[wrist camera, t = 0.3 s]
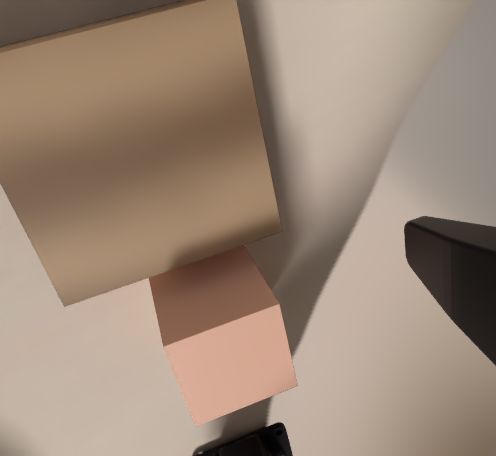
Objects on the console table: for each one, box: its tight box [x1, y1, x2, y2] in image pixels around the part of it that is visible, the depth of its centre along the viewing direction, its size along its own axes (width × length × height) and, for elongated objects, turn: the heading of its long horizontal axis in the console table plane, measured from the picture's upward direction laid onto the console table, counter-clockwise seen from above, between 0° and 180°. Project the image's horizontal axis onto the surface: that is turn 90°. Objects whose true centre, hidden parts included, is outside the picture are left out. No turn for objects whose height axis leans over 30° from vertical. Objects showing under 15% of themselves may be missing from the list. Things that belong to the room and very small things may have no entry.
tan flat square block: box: [0, 0, 282, 307], centre depth 20 cm, size 10×10×3 cm
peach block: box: [149, 245, 297, 426], centre depth 23 cm, size 5×5×6 cm
